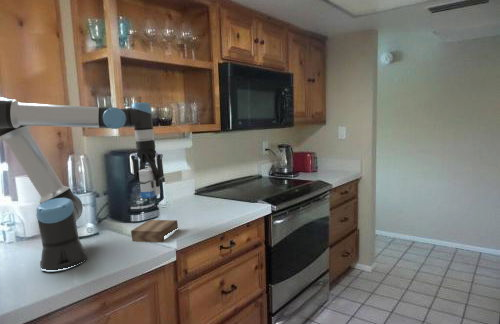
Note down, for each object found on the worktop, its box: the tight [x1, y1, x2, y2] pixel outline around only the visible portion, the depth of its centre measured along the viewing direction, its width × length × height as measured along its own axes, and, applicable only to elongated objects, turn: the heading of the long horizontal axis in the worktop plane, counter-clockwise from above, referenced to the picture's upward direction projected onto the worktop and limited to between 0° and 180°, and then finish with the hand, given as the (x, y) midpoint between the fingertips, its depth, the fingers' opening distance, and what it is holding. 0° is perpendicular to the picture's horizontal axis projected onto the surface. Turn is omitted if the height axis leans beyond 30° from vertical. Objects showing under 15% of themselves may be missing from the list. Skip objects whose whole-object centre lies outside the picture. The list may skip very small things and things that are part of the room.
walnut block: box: [130, 219, 179, 244], centre depth 146 cm, size 14×14×5 cm
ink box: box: [139, 167, 161, 199], centre depth 144 cm, size 8×5×12 cm, turn 170°
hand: (150, 194), depth 145 cm, fingers closed on ink box, 5 cm apart
